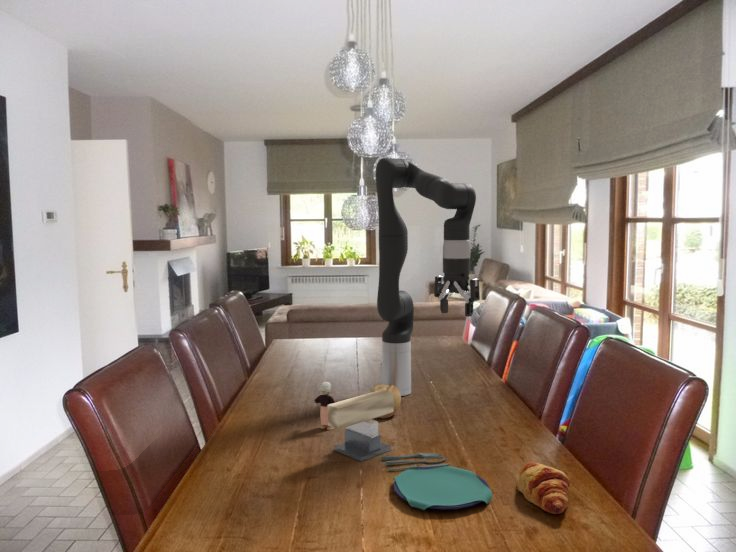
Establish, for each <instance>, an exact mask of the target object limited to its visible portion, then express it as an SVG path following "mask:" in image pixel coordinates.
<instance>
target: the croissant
mask: <svg viewBox="0 0 736 552" xmlns="http://www.w3.org/2000/svg"><path fill="white" fill-rule="evenodd" d="M570 486H571V480H570V478H569V477H568V476H567V475H566V473H565V472H563V471H562V470H559V469H557V468H554V467H552V466H547V465H545V464H542V463H538V462H532V461H531V462H527V463H525V464H524V465H523V466H522V467H521V469H520V470H519V474H518V482H517V486H516V487H517V491H519V492H520V493H521V494H523V497H524V498H525V499H526V500H527V501H528V502H530V503H532V504H533V505H535V506H537V507H539V508H540V509H541V510H543V511H545V512H546V513H548V514H553V515H556V514H558V515H559V514H562V513H563V512H564V511H565V510H566V508H567V507H568V505H569V504H568V503H569V498H570Z"/></svg>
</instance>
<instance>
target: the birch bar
mask: <svg viewBox="0 0 736 552" xmlns="http://www.w3.org/2000/svg"><path fill="white" fill-rule="evenodd" d="M370 392H371V391H370ZM370 392H369V393H364V394H361V395H358V396H353V397H351V398H347V399H344V400H339V401H337V402H336V401H335V403H332V404H329V405H327V410H328V426H331V427H333V428H335V429H336V430H341V429H346V427H348V426H351V425H354V424H358V423H361V422H364V421H367V420H370V419H372V420H374V419H375V418H376V419H377V418H379V416H382V415H385V414H389V413H392V412H394V411H393V392H390V391H386V390H383V389H382V390H378V391H375V392H371V393H370Z"/></svg>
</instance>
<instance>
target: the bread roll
mask: <svg viewBox="0 0 736 552" xmlns="http://www.w3.org/2000/svg"><path fill="white" fill-rule="evenodd" d="M382 389H383V390H386V391H390V392H393V411H394V412H392V413H389V414H385V415H382V416H379V417H378V418H379V419H383V420H385V419H388V418H390V417H391V418H392V416H394V415H395V414H396V413H397V412H398V410H399V408H400V405H401V400H402V396H401V395H400V392H399V390H398V389H397V387H396V386H394V385H392V384H391V385H390V386H388V385H386V384H383V385H381V384H378V385H376V386H373V388H372V389H371V391H370V392H369V393H371V392H375V391H378V390H382Z"/></svg>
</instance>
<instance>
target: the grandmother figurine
mask: <svg viewBox="0 0 736 552" xmlns="http://www.w3.org/2000/svg"><path fill="white" fill-rule="evenodd" d="M331 388H332V385H331V383H330V382H328V381H324V382H322V383H321V384H320V386H319V388H318V392H321V394H319V395H318V396H317V397H316V398H315V399H314V403H313V404H312V405H313V408H316V407H317V406H318V404H320V411H319V412H320V413H319V415H320V416H319V417H320V427H319V429H322V430H323V429H326V430H328V431H333V430H335V429H336V428H333V427H331V426H328V410H327V405H329V404H332V403H336V401H335V399H334V398H333V397H334V396H332V395H329V394H331V390H332V389H331Z"/></svg>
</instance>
